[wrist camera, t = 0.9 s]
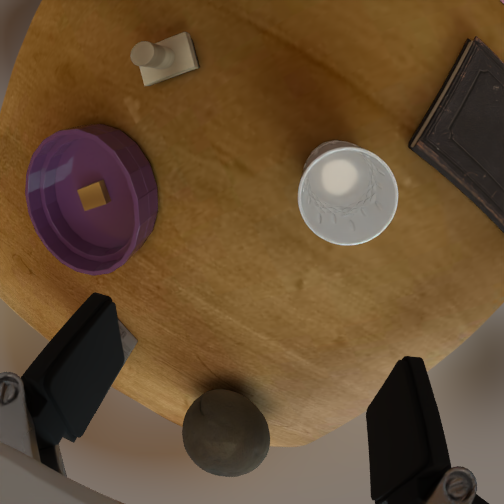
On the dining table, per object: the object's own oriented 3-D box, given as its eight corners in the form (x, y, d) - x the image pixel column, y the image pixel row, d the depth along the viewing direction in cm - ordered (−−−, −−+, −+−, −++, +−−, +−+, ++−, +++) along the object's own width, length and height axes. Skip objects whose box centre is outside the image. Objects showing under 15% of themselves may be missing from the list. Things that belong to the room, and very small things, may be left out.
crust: (82, 187, 36) (76, 190, 35) (103, 179, 35) (98, 181, 34) (89, 208, 38) (84, 211, 37) (111, 201, 37) (106, 204, 36)
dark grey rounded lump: (198, 411, 55) (177, 475, 42) (194, 365, 48) (164, 440, 35) (271, 424, 53) (260, 492, 40) (280, 379, 47) (269, 461, 34)
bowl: (37, 151, 36) (11, 161, 31) (134, 101, 31) (108, 104, 26) (78, 263, 43) (58, 281, 38) (179, 243, 39) (162, 265, 34)
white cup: (309, 212, 34) (310, 254, 25) (291, 143, 31) (286, 159, 22) (378, 198, 32) (403, 235, 23) (364, 127, 29) (389, 138, 20)
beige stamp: (155, 86, 30) (120, 85, 24) (147, 54, 28) (110, 47, 22) (203, 69, 29) (176, 61, 22) (194, 35, 27) (166, 21, 20)
